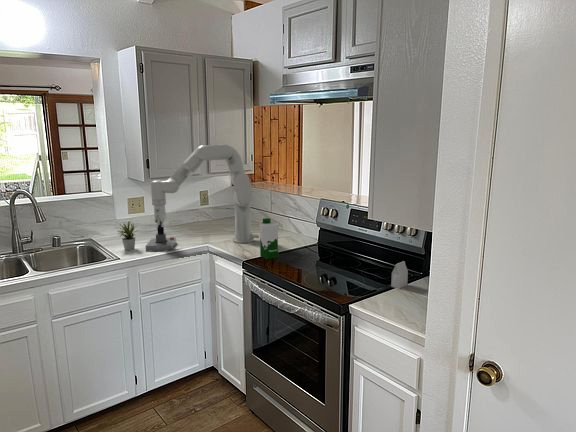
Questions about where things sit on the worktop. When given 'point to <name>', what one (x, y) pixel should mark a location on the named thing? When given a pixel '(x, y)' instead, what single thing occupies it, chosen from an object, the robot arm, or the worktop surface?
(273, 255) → the milk carton
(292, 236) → the worktop surface
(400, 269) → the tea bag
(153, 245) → the socket plate
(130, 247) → the house plant
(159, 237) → the plug
